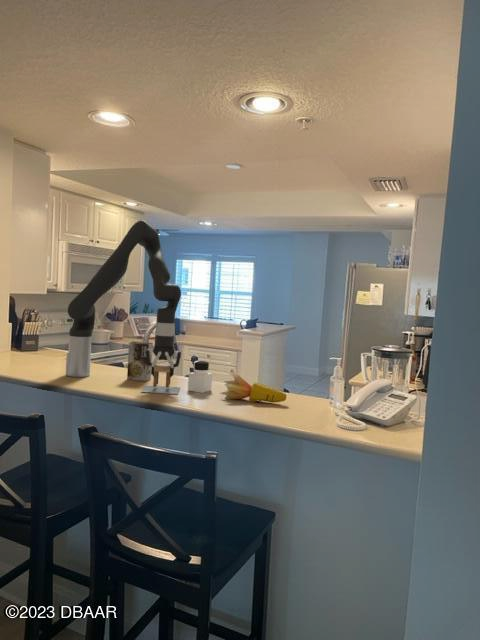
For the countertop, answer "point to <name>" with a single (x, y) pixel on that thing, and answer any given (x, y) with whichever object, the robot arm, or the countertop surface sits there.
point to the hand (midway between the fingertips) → (162, 376)
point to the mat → (160, 390)
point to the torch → (251, 391)
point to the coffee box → (139, 361)
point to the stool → (161, 368)
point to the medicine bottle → (200, 378)
